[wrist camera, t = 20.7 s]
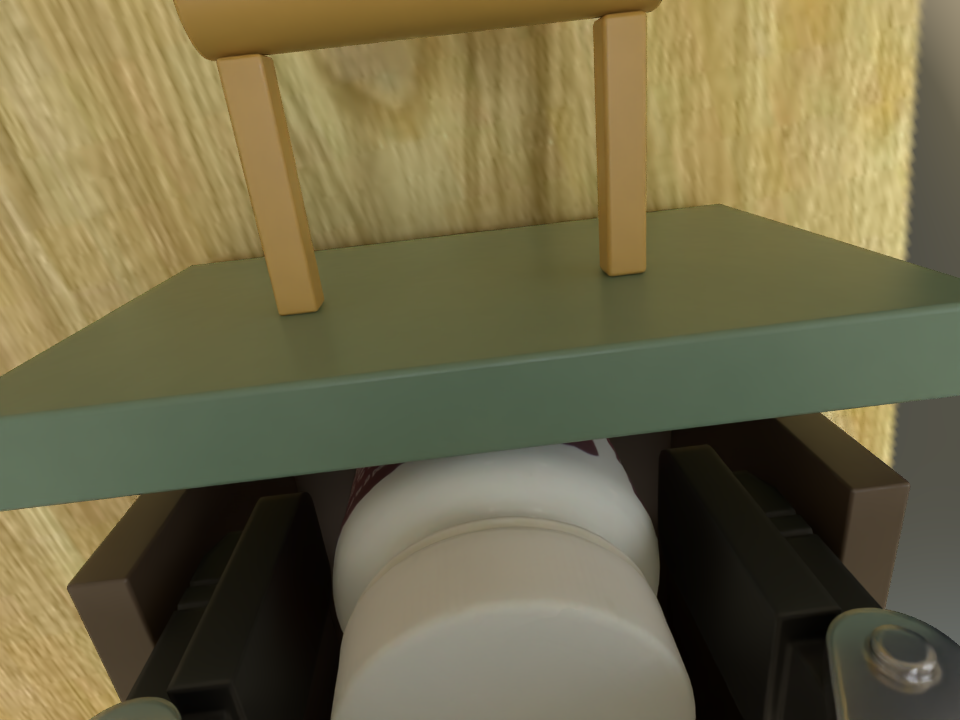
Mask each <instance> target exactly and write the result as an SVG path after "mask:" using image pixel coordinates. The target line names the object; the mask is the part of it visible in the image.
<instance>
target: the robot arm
mask: <svg viewBox="0 0 960 720" xmlns="http://www.w3.org/2000/svg"><path fill="white" fill-rule="evenodd" d="M658 535H659V541H660V546H661V550H662V553H663V557H664V559H665V562H666V564H667V566H668V568H669V570H670V572H671V574H672V576H673V578H674V580H675V582H676V584H677V586H678V588H679V590H680V592H681V594H682V597H683V599H684V601H685V603H686V605H687V607H688V609H689V611H690V613H691V615H692V617H693V619H694V621H695V623H696V625H697V627H698V629H699V631H700V633H701V635H702V637H703V639H704V641H705V643H706V645H707V647H708V649H709V651H710V653H711V655H712V657H713V659H714V661H715V663H716V665H717V667H718V669H719V671H720V673H721V675H722V677H723V679H724V681H725V684H726V686H727V688H728V690H729V692H730V694H731V696H732V698H733V700H734V702H735V704H736V706H737V708H738V710H739V712H740V714H741V716H742V718H743V720H960V646H959V645H958V644H957V643H955V642H954V641H953V640H952V639H951V638H949V637H948V636H947V635H945V634H944V633H942V632H941V631H939V630H938V629H936V628H934V627H933V626H931V625H929V624H927V623H925V622H923V621H921V620H918V619H916V618H914V617H912V616H909V615H906V614H903V613H900V612H896V611H891V610H887V609H883V608H882V607H881V606H880V605H879V604H878V603H877V601H876V600H875V599H874V598H873V597H872V596H871V595H870V594H869V592H868V591H867V590H866V589H865V588H864V587H863V586H862V585H861V583H860V582H859V581H858V580H857V579H856V578H855V577H854V576H853V574H852V573H851V572H850V571H849V570H848V569H847V568H846V566H845V565H844V564H843V563H842V562H841V561H840V560H839V559H838V557H837V556H836V555H835V554H834V553H833V552H832V551H831V550H830V548H829V547H828V546H827V545H826V544H825V543H824V542H823V541H822V539H821V538H820V537H819V536H818V535H817V534H813V532H812V528H811V527H810V526H809V525H808V524H807V522H806V521H805V520H804V519H803V518H802V517H801V516H800V515H797V514H796V512H795V509H794V508H793V507H792V506H791V504H790V503H789V502H788V501H787V500H786V499H785V498H784V496H783V495H782V494H781V493H780V492H779V491H778V490H777V489H776V488H775V487H774V486H772V485H770V484H769V483H767V482H765V481H763V480H762V479H760V478H758V477H757V476H755V475H753V474H752V473H750V472H748V471H738V472H731V470H730V469H729V468H728V467H727V465H726V464H725V463H724V462H723V460H722V459H721V458H720V457H719V455H718V454H717V453H716V452H715V450H714V449H713V448H712V447H711V446H709V445H707V444H705V445H697V446H689V447H681V448H672V449H664V450H662V451H661V452H660V455H659V465H658ZM189 583H190V587H189V588H186V590H185V592H184V594H183V595H182V597H181V599H180V601H179V603H178V605H177V607H178V608H177V611H174V612H173V614H172V616H171V617H170V619H169V621H168V623H167V625H166V627H165V629H164V630H163V632H162V634H161V636H160V638H159V640H158V641H157V643H156V645H155V647H154V649H153V651H152V652H151V654H150V656H149V658H148V660H147V662H146V664H145V665H144V667H143V669H142V671H141V673H140V675H139V676H138V678H137V680H136V682H135V684H134V686H133V687H132V689H131V691H130V693H129V695H128V697H127V699H126V700H125V701H124V702H122V703H119V704H116V705H114V706H112V707H110V708H108V709H106V710H104V711H102V712H101V713H99V714H97V715H96V716H94V717H93V718H91V719H90V720H303V717H304V713H305V709H306V704H307V700H308V696H309V692H310V687H311V683H312V679H313V675H314V670H315V666H316V662H317V657H318V653H319V649H320V645H321V640H322V636H323V632H324V627H325V623H326V619H327V615H328V610H329V606H330V601H331V589H332V582H331V570H330V564H329V560H328V556H327V552H326V548H325V545H324V541H323V537H322V533H321V529H320V525H319V521H318V518H317V514H316V510H315V506H314V503H313V500H312V497H311V495H310V494H309V493H308V492H300V493H291V494H283V495H275V496H266V497H261V498H260V499H259V500H258V501H257V503H256V505H255V507H254V509H253V511H252V513H251V516H250V518H249V520H248V522H247V524H246V526H245V528H244V530H243V531H234V532H229V533H227V534H226V535H225V536H224V537H223V538H222V539H221V540H220V541H219V542H218V543H217V544H216V545H215V546H214V547H213V548H212V549H211V550H210V551H209V552H208V553H207V554H205V555H204V557H203V559H202V560H201V562H200V564H199V566H198V568H197V570H196V571H195V573H194V575H193V577H192V579H191V581H190V582H189Z"/></svg>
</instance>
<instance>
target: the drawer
mask: <svg viewBox="0 0 960 720" xmlns="http://www.w3.org/2000/svg"><path fill="white" fill-rule="evenodd" d="M661 1H662V0H173V2H174V5H175V8H176V10H177V13H178V16H179V18H180V21H181V23H182V25H183V27H184V29H185V31H186V33H187V35H188V37H189V39H190V41H191V42H192V44H193V45H194V47H195V48H196V50H197V51H198V52H199V53H200V54H201V55H202V56H203V57H204V58H205V59H208V60H211V61H217V62H216V63H217V67H218V71H219V75H220V79H221V83H222V87H223V91H224V95H225V99H226V103H227V107H228V111H229V115H230V119H231V123H232V127H233V131H234V135H235V140H236V144H237V148H238V152H239V156H240V160H241V164H242V168H243V172H244V176H245V180H246V184H247V188H248V192H249V196H250V200H251V204H252V208H253V212H254V216H255V220H256V224H257V228H258V232H259V236H260V240H261V244H262V249H263V253H264V257H260V258H252V259H243V260H234V261H226V262H217V263H209V264H200V265H192V266H190V267H188V268H187V269H185V270H183V271H181V272H180V273H178V274H176V275H175V276H173V277H171V278H169V279H168V280H166V281H164V282H162V283H161V284H159V285H157V286H156V287H154V288H152V289H150V290H149V291H147V292H145V293H144V294H142V295H140V296H138V297H137V298H135V299H133V300H131V301H130V302H128V303H126V304H125V305H123V306H121V307H119V308H118V309H116V310H114V311H113V312H111V313H109V314H107V315H106V316H104V317H102V318H101V319H99V320H97V321H95V322H94V323H92V324H90V325H88V326H87V327H85V328H83V329H82V330H80V331H78V332H76V333H75V334H73V335H71V336H70V337H68V338H66V339H64V340H63V341H61V342H59V343H57V344H56V345H54V346H52V347H51V348H49V349H47V350H45V351H44V352H42V353H40V354H39V355H37V356H35V357H33V358H32V359H30V360H28V361H26V362H25V363H23V364H21V365H20V366H18V367H16V368H14V369H13V370H11V371H9V372H8V373H6V374H4V375H2V376H1V377H0V511H8V510H16V509H24V508H33V507H41V506H49V505H57V504H66V503H74V502H82V501H90V500H99V499H107V498H115V497H124V496H132V495H140V494H141V495H140V496H139V497H138V499H137V500H136V501H135V502H134V504H133V505H132V506H131V507H130V509H129V510H128V511H127V512H126V514H125V515H124V516H123V517H122V518H121V520H120V521H119V522H118V523H117V525H116V526H115V527H114V528H113V530H112V531H111V532H110V533H109V535H108V536H107V537H106V538H105V539H104V541H103V542H102V543H101V544H100V546H99V547H98V548H97V549H96V551H95V552H94V553H93V554H92V556H91V557H90V558H89V559H88V561H87V562H86V563H85V564H84V565H83V567H82V568H81V569H80V570H79V572H78V573H77V574H76V575H75V577H74V578H73V579H72V580H71V582H70V583H69V584H68V586H67V590H68V592H69V594H70V596H71V598H72V600H73V602H74V605H75V607H76V609H77V611H78V613H79V615H80V617H81V619H82V621H83V623H84V625H85V627H86V629H87V631H88V634H89V636H90V638H91V640H92V642H93V644H94V646H95V648H96V650H97V652H98V654H99V656H100V658H101V661H102V663H103V665H104V667H105V669H106V671H107V673H108V675H109V677H110V679H111V681H112V683H113V685H114V688H115V690H116V692H117V694H118V696H119V698H120V700H121V702H124V701H125V700H126V699H127V697H128V695H129V693H130V691H131V689H132V687H133V686H134V684H135V682H136V680H137V678H138V676H139V675H140V673H141V671H142V669H143V667H144V665H145V664H146V662H147V660H148V658H149V656H150V654H151V652H152V651H153V649H154V647H155V645H156V643H157V641H158V640H159V638H160V636H161V634H162V632H163V630H164V629H165V627H166V625H167V623H168V621H169V619H170V617H171V616H172V614H173V612H174V611H177V608H178V607H177V605H178V603H179V601H180V599H181V597H182V595H183V594H184V592H185V590H186V588H189V587H190V583H189V582H190V581H191V579H192V577H193V575H194V573H195V571H196V570H197V568H198V566H199V564H200V562H201V560H202V559H203V557H204V555H205V554H207V553H208V552H209V551H210V550H211V549H212V548H213V547H214V546H215V545H216V544H217V543H218V542H219V541H220V540H221V539H222V538H223V537H224V536H225V535H226V534H227V533H229V532H234V531H243V530H244V528H245V526H246V524H247V522H248V520H249V518H250V516H251V513H252V511H253V509H254V507H255V505H256V503H257V501H258V500H259V499H260V498H261V497H266V496H275V495H283V494H291V493H300V492H308V493H309V494H310V495H311V497H312V500H313V503H314V506H315V510H316V514H317V518H318V521H319V525H320V529H321V533H322V537H323V541H324V545H325V548H326V552H327V556H328V560H329V564H330V570H331V582H332V589H331V601H330V606H329V610H328V615H327V619H326V623H325V627H324V632H323V636H322V640H321V645H320V649H319V653H318V657H317V662H316V666H315V670H314V675H313V679H312V683H311V687H310V692H309V696H308V700H307V704H306V709H305V713H304V717H303V720H331V713H332V706H333V699H334V693H335V686H336V680H337V674H338V668H339V658H340V648H341V643H342V638H343V634H344V633H343V631H342V629H341V627H340V624H339V621H338V618H337V614H336V609H335V604H334V597H333V566H334V557H335V551H336V545H337V540H338V536H339V532H340V529H341V525H342V521H343V519H344V517H345V513H346V509H347V505H348V501H349V498H350V493H351V488H352V484H353V480H354V477H355V473H356V468H364V467H372V466H380V465H388V464H397V463H405V462H413V461H422V460H430V459H438V458H446V457H455V456H463V455H471V454H479V453H488V452H496V451H504V450H513V449H521V448H529V447H537V446H546V445H554V444H562V443H571V442H579V441H587V440H595V439H604V438H609V440H610V442H611V443H612V445H613V447H614V449H615V451H616V453H617V454H618V457H619V459H620V461H621V464H622V466H623V468H624V470H625V471H626V473H627V474H628V476H629V478H630V480H631V482H632V484H633V486H634V488H635V490H636V492H637V494H638V496H639V497H640V499H641V500H642V502H643V503H644V505H645V507H646V509H647V511H648V513H649V515H650V517H651V520H652V523H653V526H654V529H655V531H656V535H657V539H658V549H659V561H660V574H659V585H658V592H657V599H658V602H659V604H660V606H661V608H662V611H663V614H664V617H665V620H666V622H667V624H668V627H669V629H670V631H671V633H672V636H673V638H674V641H675V643H676V646H677V648H678V651H679V653H680V656H681V658H682V661H683V663H684V666H685V668H686V671H687V673H688V676H689V678H690V682H691V686H692V690H693V694H694V700H695V714H696V718H695V720H743V718H742V716H741V714H740V712H739V710H738V708H737V706H736V704H735V702H734V700H733V698H732V696H731V694H730V692H729V690H728V688H727V686H726V684H725V681H724V679H723V677H722V675H721V673H720V671H719V669H718V667H717V665H716V663H715V661H714V659H713V657H712V655H711V653H710V651H709V649H708V647H707V645H706V643H705V641H704V639H703V637H702V635H701V633H700V631H699V629H698V627H697V625H696V623H695V621H694V619H693V617H692V615H691V613H690V611H689V609H688V607H687V605H686V603H685V601H684V599H683V597H682V594H681V592H680V590H679V588H678V586H677V584H676V582H675V580H674V578H673V576H672V574H671V572H670V570H669V568H668V566H667V564H666V562H665V559H664V557H663V553H662V550H661V546H660V541H659V535H658V465H659V455H660V452H661V451H662V450H664V449H672V448H681V447H689V446H697V445H705V444H707V445H709V446H711V447H712V448H713V449H714V450H715V452H716V453H717V454H718V455H719V457H720V458H721V459H722V460H723V462H724V463H725V464H726V465H727V467H728V468H729V469H730V470H731V472H738V471H748V472H750V473H752V474H753V475H755V476H757V477H758V478H760V479H762V480H763V481H765V482H767V483H769V484H770V485H772V486H774V487H775V488H776V489H777V490H778V491H779V492H780V493H781V494H782V495H783V496H784V498H785V499H786V500H787V501H788V502H789V503H790V504H791V506H792V507H793V508H794V509H795V512H796V514H797V515H800V516H801V517H802V518H803V519H804V520H805V521H806V522H807V524H808V525H809V526H810V527H811V528H812V532H813V534H817V535H818V536H819V537H820V538H821V539H822V541H823V542H824V543H825V544H826V545H827V546H828V547H829V548H830V550H831V551H832V552H833V553H834V554H835V555H836V556H837V557H838V559H839V560H840V561H841V562H842V563H843V564H844V565H845V566H846V568H847V569H848V570H849V571H850V572H851V573H852V574H853V576H854V577H855V578H856V579H857V580H858V581H859V582H860V583H861V585H862V586H863V587H864V588H865V589H866V590H867V591H868V592H869V594H870V595H871V596H872V597H873V598H874V599H875V600H876V601H877V603H878V604H879V605H880V606H881V607H882V608H883V609H885V607H886V602H887V597H888V592H889V587H890V582H891V577H892V572H893V568H894V562H895V558H896V553H897V548H898V544H899V539H900V534H901V529H902V524H903V519H904V514H905V510H906V505H907V500H908V495H909V490H910V483H909V482H908V481H907V480H906V479H904V478H903V477H902V476H900V475H899V474H898V473H897V472H895V471H894V470H893V469H891V468H890V467H889V466H888V465H886V464H885V463H884V462H883V461H881V460H880V459H879V458H877V457H876V456H875V455H874V454H872V453H871V452H870V451H869V450H867V449H866V448H865V447H863V446H862V445H861V444H860V443H858V442H857V441H856V440H854V439H853V438H852V437H851V436H849V435H848V434H847V433H846V432H844V431H843V430H842V429H840V428H839V427H838V426H837V425H835V424H834V423H833V422H831V421H830V420H829V419H828V418H826V417H825V416H824V415H823V414H821V413H820V412H827V411H835V410H844V409H852V408H860V407H868V406H877V405H885V404H893V403H902V402H910V401H918V400H926V399H935V398H943V397H951V396H960V278H957V277H954V276H951V275H947V274H944V273H941V272H938V271H935V270H931V269H928V268H925V267H922V266H918V265H915V264H912V263H909V262H906V261H902V260H899V259H896V258H893V257H890V256H886V255H883V254H880V253H877V252H873V251H870V250H867V249H864V248H860V247H857V246H854V245H851V244H848V243H844V242H841V241H838V240H835V239H831V238H828V237H825V236H822V235H819V234H815V233H812V232H809V231H806V230H802V229H799V228H796V227H793V226H790V225H786V224H783V223H780V222H777V221H773V220H770V219H767V218H764V217H761V216H757V215H754V214H751V213H748V212H744V211H741V210H738V209H735V208H731V207H728V206H725V205H722V204H715V205H706V206H697V207H689V208H680V209H672V210H663V211H655V212H646V123H647V16H646V13H645V12H651V11H653V10H654V9H656V8H657V7H658V6H659V4H660V3H661ZM592 18H600V19H598V20H597V21H595V22H594V25H593V42H594V78H595V113H596V148H597V183H598V218H594V219H586V220H577V221H569V222H560V223H552V224H543V225H534V226H526V227H517V228H509V229H500V230H492V231H483V232H474V233H466V234H457V235H449V236H440V237H432V238H423V239H414V240H406V241H397V242H389V243H380V244H372V245H363V246H354V247H346V248H337V249H329V250H320V251H314V249H313V244H312V239H311V235H310V230H309V225H308V221H307V216H306V211H305V207H304V202H303V197H302V193H301V188H300V183H299V179H298V174H297V169H296V165H295V160H294V155H293V151H292V146H291V141H290V137H289V132H288V128H287V123H286V118H285V114H284V109H283V104H282V100H281V95H280V90H279V86H278V81H277V76H276V72H275V67H274V62H273V60H272V58H270V57H267V56H264V55H273V54H281V53H290V52H299V51H308V50H317V49H326V48H335V47H343V46H352V45H361V44H370V43H379V42H388V41H397V40H406V39H414V38H423V37H432V36H441V35H450V34H459V33H468V32H476V31H485V30H494V29H503V28H512V27H521V26H530V25H538V24H547V23H556V22H565V21H574V20H583V19H592Z"/></svg>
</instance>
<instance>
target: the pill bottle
mask: <svg viewBox="0 0 960 720" xmlns="http://www.w3.org/2000/svg"><path fill="white" fill-rule="evenodd" d="M659 574H660V561H659V549H658V539H657V535H656V531H655V529H654V526H653V523H652V520H651V517H650V515H649V513H648V511H647V509H646V507H645V505H644V503H643V502H642V500H641V499H640V497H639V496H638V494H637V492H636V490H635V488H634V486H633V484H632V482H631V480H630V478H629V476H628V474H627V473H626V471H625V470H624V468H623V466H622V464H621V461H620V459H619V457H618V454H617V453H616V451H615V449H614V447H613V445H612V443H611V442H610V440H609V438H604V439H595V440H587V441H579V442H571V443H562V444H554V445H546V446H537V447H529V448H521V449H513V450H504V451H496V452H488V453H479V454H471V455H463V456H455V457H446V458H438V459H430V460H422V461H413V462H405V463H397V464H388V465H380V466H372V467H364V468H356V473H355V477H354V480H353V484H352V488H351V493H350V498H349V501H348V505H347V509H346V513H345V517H344V519H343V521H342V525H341V529H340V532H339V536H338V540H337V545H336V551H335V557H334V566H333V597H334V604H335V609H336V614H337V618H338V621H339V624H340V627H341V629H342V631H343V633H344V634H343V638H342V643H341V648H340V658H339V668H338V674H337V680H336V686H335V693H334V699H333V706H332V713H331V720H695V718H696V714H695V700H694V694H693V690H692V686H691V682H690V678H689V676H688V673H687V671H686V668H685V666H684V663H683V661H682V658H681V656H680V653H679V651H678V648H677V646H676V643H675V641H674V638H673V636H672V633H671V631H670V629H669V627H668V624H667V622H666V620H665V617H664V614H663V611H662V608H661V606H660V604H659V602H658V599H657V592H658V585H659Z"/></svg>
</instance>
